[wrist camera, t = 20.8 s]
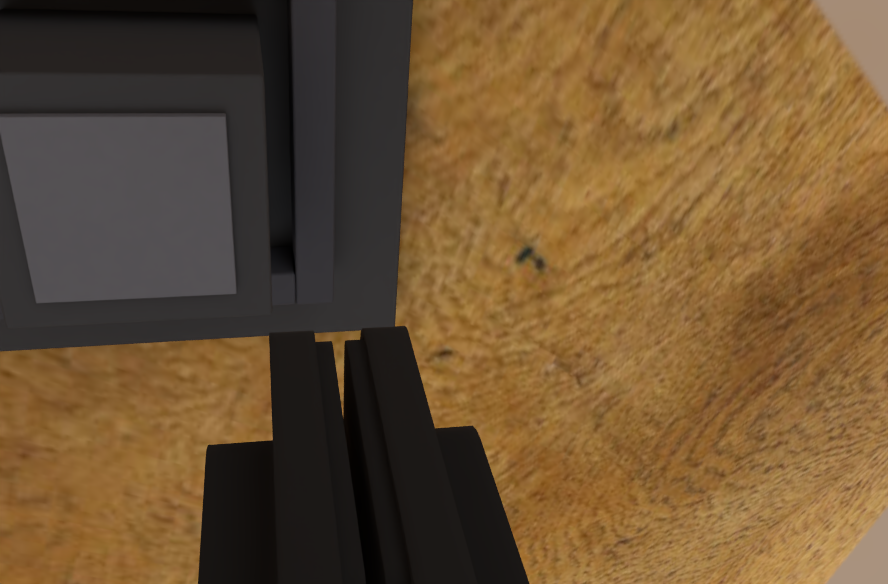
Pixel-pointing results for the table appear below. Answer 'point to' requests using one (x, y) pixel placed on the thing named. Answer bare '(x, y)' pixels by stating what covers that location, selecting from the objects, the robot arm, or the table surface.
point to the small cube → (132, 167)
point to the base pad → (302, 169)
